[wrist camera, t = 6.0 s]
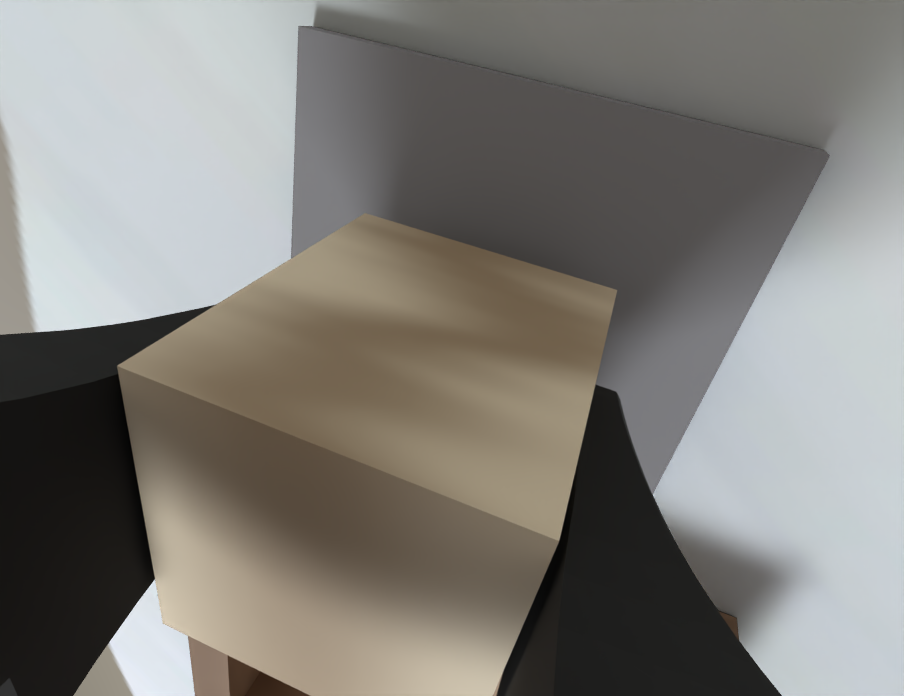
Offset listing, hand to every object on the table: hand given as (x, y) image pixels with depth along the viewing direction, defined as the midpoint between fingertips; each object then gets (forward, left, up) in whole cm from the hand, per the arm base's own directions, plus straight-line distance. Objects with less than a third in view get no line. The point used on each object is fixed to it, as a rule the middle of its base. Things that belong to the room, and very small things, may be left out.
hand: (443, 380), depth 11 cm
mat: (0, 0, -3) cm, 3 cm away
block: (0, 0, -1) cm, 1 cm away
